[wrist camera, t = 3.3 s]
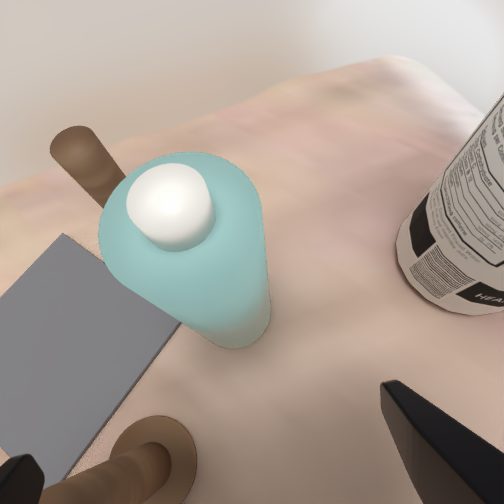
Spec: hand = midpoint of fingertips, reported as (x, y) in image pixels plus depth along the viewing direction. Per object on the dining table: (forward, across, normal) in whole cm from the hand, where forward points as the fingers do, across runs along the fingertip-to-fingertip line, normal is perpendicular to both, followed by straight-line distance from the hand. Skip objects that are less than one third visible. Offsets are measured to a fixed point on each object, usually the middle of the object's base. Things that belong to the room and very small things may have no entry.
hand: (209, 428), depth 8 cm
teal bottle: (+13, 0, +5) cm, 14 cm away
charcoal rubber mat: (+13, +12, +5) cm, 18 cm away
